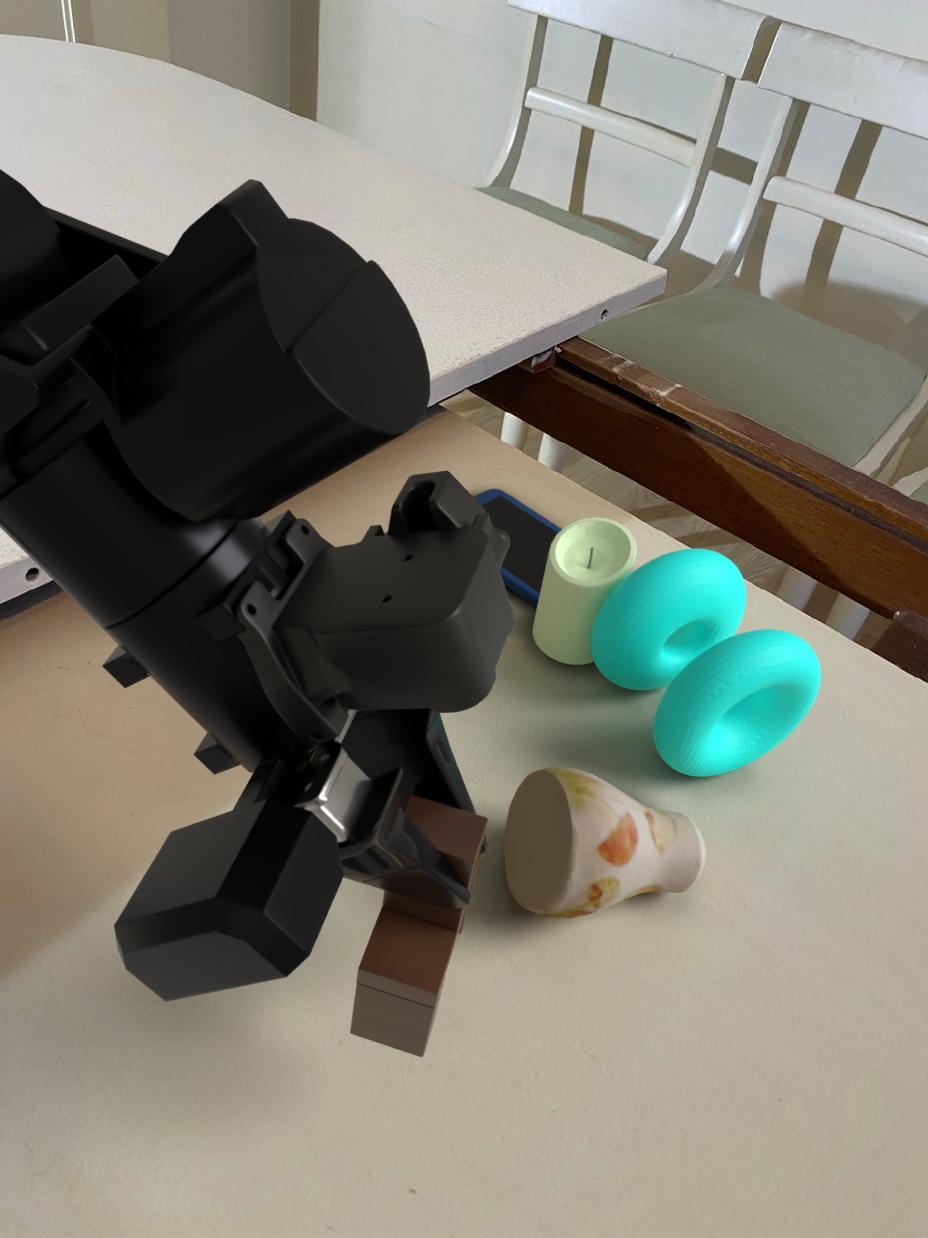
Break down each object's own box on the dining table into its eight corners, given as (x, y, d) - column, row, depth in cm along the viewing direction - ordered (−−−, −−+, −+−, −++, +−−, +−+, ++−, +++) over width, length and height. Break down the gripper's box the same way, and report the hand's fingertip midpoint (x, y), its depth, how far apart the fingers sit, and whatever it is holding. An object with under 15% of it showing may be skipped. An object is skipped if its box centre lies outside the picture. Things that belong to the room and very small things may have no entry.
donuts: (651, 806, 57) (704, 679, 50) (566, 680, 63) (603, 553, 56) (793, 762, 60) (860, 640, 54) (699, 648, 67) (748, 526, 60)
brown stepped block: (422, 1059, 40) (455, 926, 33) (349, 1034, 40) (367, 898, 34) (470, 904, 45) (506, 764, 39) (404, 883, 45) (429, 741, 39)
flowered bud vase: (725, 928, 52) (701, 869, 44) (538, 958, 54) (481, 907, 46) (696, 790, 56) (668, 712, 48) (523, 823, 58) (468, 754, 50)
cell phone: (576, 636, 66) (578, 628, 65) (423, 528, 72) (424, 520, 72) (642, 590, 70) (645, 581, 70) (492, 492, 76) (494, 484, 76)
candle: (569, 678, 63) (594, 583, 57) (516, 628, 66) (534, 532, 60) (625, 644, 66) (655, 550, 60) (572, 597, 68) (596, 502, 62)
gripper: (205, 694, 20) (621, 1114, 26) (458, 311, 34) (691, 645, 40) (-74, 820, 26) (317, 1136, 32) (236, 451, 40) (469, 722, 46)
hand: (469, 877), depth 38 cm, fingers closed on brown stepped block, 2 cm apart
